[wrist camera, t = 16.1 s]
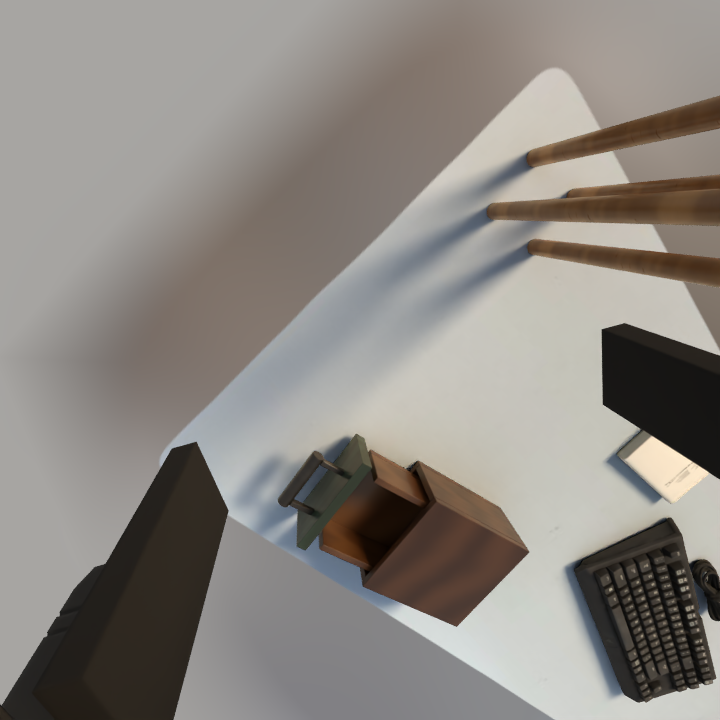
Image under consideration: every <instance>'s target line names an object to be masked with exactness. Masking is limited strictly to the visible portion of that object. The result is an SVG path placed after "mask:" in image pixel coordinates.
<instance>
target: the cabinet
mask: <svg viewBox="0 0 720 720" xmlns="http://www.w3.org/2000/svg"><path fill="white" fill-rule="evenodd" d="M410 472H411V473H413V474H415V475H417V476H419V477H420V479H421V481H422V484H423V486H424V488H425V491H426V493H427V495H428V498H429V500H430V503H429V504H428V505H427V506H426V507H425V509H424V510H423V511H422V512H421V513H420V514H419V516H418V517H417V518H416V519H415V520H414V521H413V522H412V524H411V525H410V526H409V527H408V528H407V529H406V531H405V532H404V533H403V534H402V535H401V536H400V537H399V539H398V540H397V541H396V542H395V543H394V544H393V546H392V547H391V548H390V549H389V550H388V551H387V552H386V554H385V555H384V556H383V557H382V558H381V559H380V561H379V562H378V563H377V564H376V565H375V566H374V568H373V569H372V570H371V571H370V572H369V571H367V570H365V569H363V568H360V572H361V578H362V585H363V587H365V588H367V589H370V590H372V591H374V592H377V593H379V594H381V595H384V596H386V597H388V598H391V599H393V600H395V601H398V602H400V603H402V604H405V605H407V606H409V607H412V608H414V609H416V610H419V611H421V612H423V613H426V614H428V615H430V616H433V617H435V618H437V619H440V620H442V621H444V622H447V623H449V624H451V625H454V626H456V627H457V626H458V625H459V624H460V623H461V622H462V621H463V620H464V619H465V618H466V617H467V616H468V615H469V614H470V613H471V612H472V611H473V609H474V608H475V607H476V606H477V605H478V604H479V603H480V602H481V601H482V600H483V599H484V598H485V597H486V596H487V595H488V594H489V593H490V592H491V591H492V590H493V589H494V588H495V587H496V586H497V585H498V584H499V583H500V582H501V581H502V580H503V579H504V578H505V577H506V576H507V575H508V574H509V573H510V572H511V571H512V570H513V568H514V567H515V566H516V565H517V564H518V563H519V562H520V561H521V560H522V559H523V558H524V557H525V556H526V555H527V554H528V553H529V550H528V549H527V547H526V546H525V544H524V543H523V541H522V540H521V538H520V537H519V535H518V534H517V532H516V531H515V529H514V528H513V526H512V525H511V523H510V522H509V520H508V519H507V517H506V516H505V514H504V513H503V511H502V510H501V508H500V507H498V506H496V505H495V504H493V503H491V502H489V501H488V500H486V499H484V498H482V497H481V496H479V495H477V494H475V493H474V492H472V491H470V490H469V489H467V488H465V487H463V486H462V485H460V484H458V483H456V482H455V481H453V480H451V479H449V478H448V477H446V476H444V475H442V474H441V473H439V472H437V471H435V470H434V469H432V468H430V467H429V466H427V465H425V464H423V463H422V462H420V461H417V462H416V464H415V465H414V466H413V467H412V468H411V470H410Z"/></svg>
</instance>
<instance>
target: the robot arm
mask: <svg viewBox="0 0 720 720" xmlns="http://www.w3.org/2000/svg"><path fill="white" fill-rule="evenodd" d="M602 382H603V405H604V406H606V407H607V408H609V409H611V410H612V411H614V412H615V413H617V414H618V415H620V416H622V417H623V418H625V419H626V420H628V421H629V422H631V423H632V424H634V425H636V426H637V427H639V428H640V429H642V430H643V431H645V432H647V433H648V434H650V435H651V436H653V437H654V438H656V439H657V440H659V441H661V442H662V443H664V444H665V445H667V446H668V447H670V448H671V449H673V450H675V451H676V452H678V453H679V454H681V455H682V456H684V457H686V458H687V459H689V460H690V461H692V462H693V463H695V464H696V465H698V466H700V467H701V468H703V469H704V470H706V471H707V472H709V473H711V474H712V475H714V476H715V477H717V478H718V479H720V356H719V355H716V354H713V353H710V352H707V351H704V350H702V349H699V348H696V347H693V346H690V345H687V344H684V343H681V342H678V341H675V340H672V339H669V338H666V337H663V336H660V335H658V334H655V333H652V332H649V331H646V330H643V329H640V328H637V327H634V326H631V325H628V324H625V323H623V324H620V325H616V326H613V327H609V328H605V329H602ZM227 514H228V509H227V507H226V504H225V502H224V500H223V498H222V496H221V494H220V491H219V489H218V487H217V485H216V483H215V481H214V479H213V476H212V474H211V472H210V470H209V468H208V466H207V463H206V461H205V459H204V457H203V455H202V453H201V450H200V448H199V446H198V444H197V442H194V443H190V444H187V445H183V446H179V447H176V448H172V449H171V451H170V453H169V455H168V456H167V458H166V460H165V461H164V463H163V465H162V467H161V468H160V470H159V472H158V474H157V475H156V477H155V479H154V481H153V482H152V484H151V486H150V488H149V489H148V491H147V493H146V495H145V496H144V498H143V500H142V501H141V503H140V505H139V507H138V508H137V510H136V512H135V514H134V515H133V517H132V519H131V521H130V522H129V524H128V526H127V528H126V529H125V531H124V533H123V535H122V536H121V538H120V540H119V541H118V543H117V545H116V547H115V549H114V550H113V552H112V554H111V555H110V558H109V559H108V561H107V562H106V564H104V565H100V566H97V567H94V569H93V570H92V571H91V572H90V573H89V574H88V575H87V576H86V577H85V578H84V579H83V580H82V581H81V582H80V583H79V584H78V585H77V587H76V588H75V589H74V590H73V592H72V593H71V595H70V597H69V598H68V600H67V601H66V603H65V604H64V606H63V608H62V609H61V611H60V616H59V617H56V619H55V620H54V622H53V624H52V625H51V627H50V629H49V630H48V632H47V633H48V635H47V637H44V638H43V640H42V642H41V643H40V645H39V646H38V648H37V650H36V651H35V653H34V654H33V656H32V658H31V659H30V661H29V662H28V664H27V666H26V667H25V669H24V670H23V672H22V674H21V675H20V677H19V678H18V680H17V682H16V683H15V685H14V687H13V688H12V690H11V691H10V693H9V695H8V696H7V698H6V699H5V701H4V703H3V704H2V706H1V705H0V720H173V719H174V716H175V712H176V708H177V704H178V700H179V696H180V693H181V689H182V685H183V681H184V677H185V674H186V670H187V666H188V662H189V658H190V655H191V651H192V647H193V643H194V640H195V636H196V632H197V628H198V624H199V621H200V617H201V613H202V609H203V605H204V601H205V598H206V594H207V590H208V586H209V583H210V579H211V575H212V571H213V568H214V564H215V560H216V556H217V552H218V549H219V544H220V541H221V537H222V533H223V530H224V525H225V522H226V518H227Z"/></svg>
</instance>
